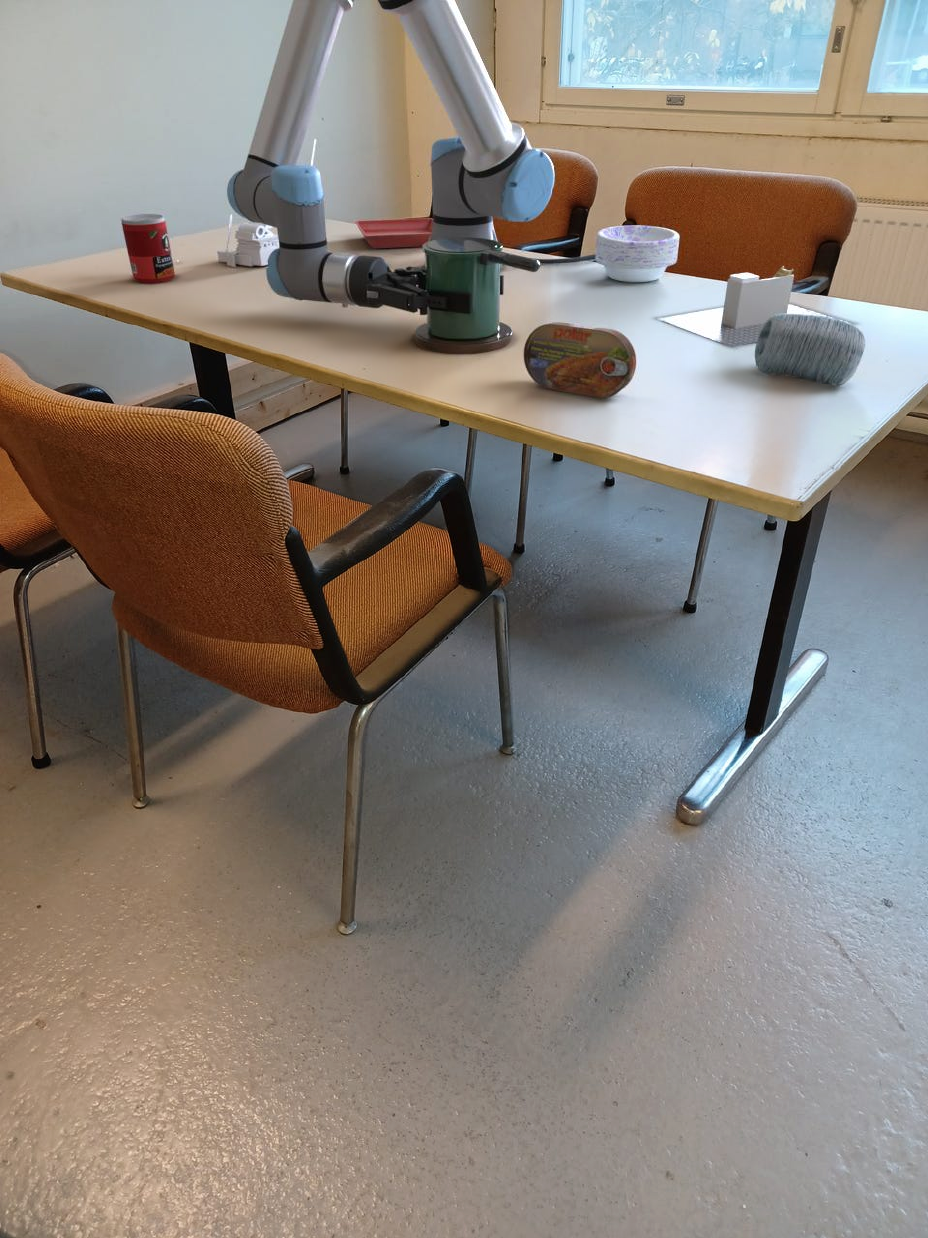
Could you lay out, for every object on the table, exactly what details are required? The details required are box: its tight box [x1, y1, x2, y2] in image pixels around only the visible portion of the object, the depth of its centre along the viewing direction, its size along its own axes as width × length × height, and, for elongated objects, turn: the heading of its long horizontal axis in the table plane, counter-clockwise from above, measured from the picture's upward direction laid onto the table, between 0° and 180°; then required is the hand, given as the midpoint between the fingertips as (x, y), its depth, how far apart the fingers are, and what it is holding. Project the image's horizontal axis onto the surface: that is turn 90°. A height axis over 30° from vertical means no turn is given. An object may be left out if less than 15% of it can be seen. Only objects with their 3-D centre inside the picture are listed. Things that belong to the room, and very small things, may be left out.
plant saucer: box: [355, 217, 433, 249], centre depth 197 cm, size 18×18×3 cm
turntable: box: [414, 321, 513, 355], centre depth 135 cm, size 15×15×1 cm
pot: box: [422, 237, 541, 339], centre depth 128 cm, size 22×12×12 cm, turn 40°
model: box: [720, 265, 795, 329], centre depth 140 cm, size 3×11×8 cm, turn 118°
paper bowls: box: [594, 224, 680, 283], centre depth 165 cm, size 15×15×8 cm
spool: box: [754, 313, 866, 387], centre depth 117 cm, size 14×10×10 cm
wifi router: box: [177, 138, 317, 268], centre depth 178 cm, size 25×22×22 cm
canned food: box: [120, 213, 176, 284], centre depth 167 cm, size 8×8×11 cm
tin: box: [523, 321, 637, 399], centre depth 113 cm, size 15×3×8 cm, turn 58°
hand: (487, 294), depth 130 cm, fingers closed on pot, 11 cm apart
